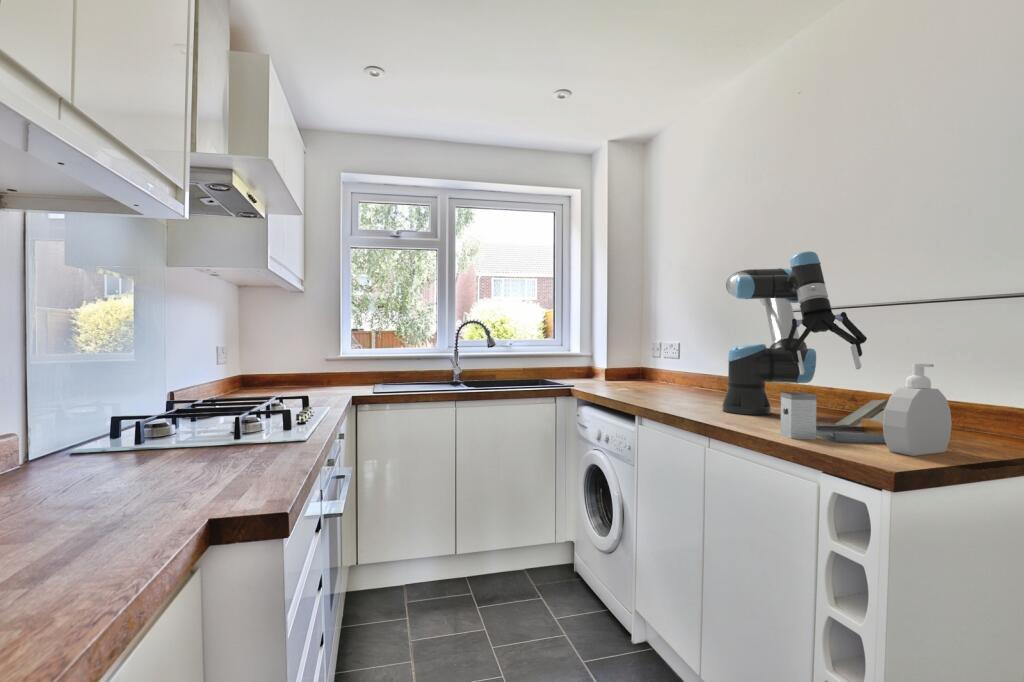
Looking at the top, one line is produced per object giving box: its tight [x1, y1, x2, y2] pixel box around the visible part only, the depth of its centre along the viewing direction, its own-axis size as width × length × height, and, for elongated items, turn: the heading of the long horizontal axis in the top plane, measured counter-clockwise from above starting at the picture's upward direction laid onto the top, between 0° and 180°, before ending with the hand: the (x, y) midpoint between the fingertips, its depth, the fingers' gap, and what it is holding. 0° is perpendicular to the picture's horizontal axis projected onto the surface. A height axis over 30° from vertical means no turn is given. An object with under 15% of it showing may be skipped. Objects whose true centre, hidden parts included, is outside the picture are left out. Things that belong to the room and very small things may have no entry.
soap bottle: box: [883, 362, 953, 457], centre depth 111 cm, size 16×5×20 cm, turn 111°
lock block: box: [779, 391, 818, 440], centre depth 128 cm, size 6×6×11 cm
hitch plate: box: [816, 419, 887, 445], centre depth 127 cm, size 12×14×4 cm
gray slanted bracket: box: [835, 399, 888, 426], centre depth 143 cm, size 16×9×15 cm
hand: (830, 371), depth 139 cm, fingers open, 13 cm apart
